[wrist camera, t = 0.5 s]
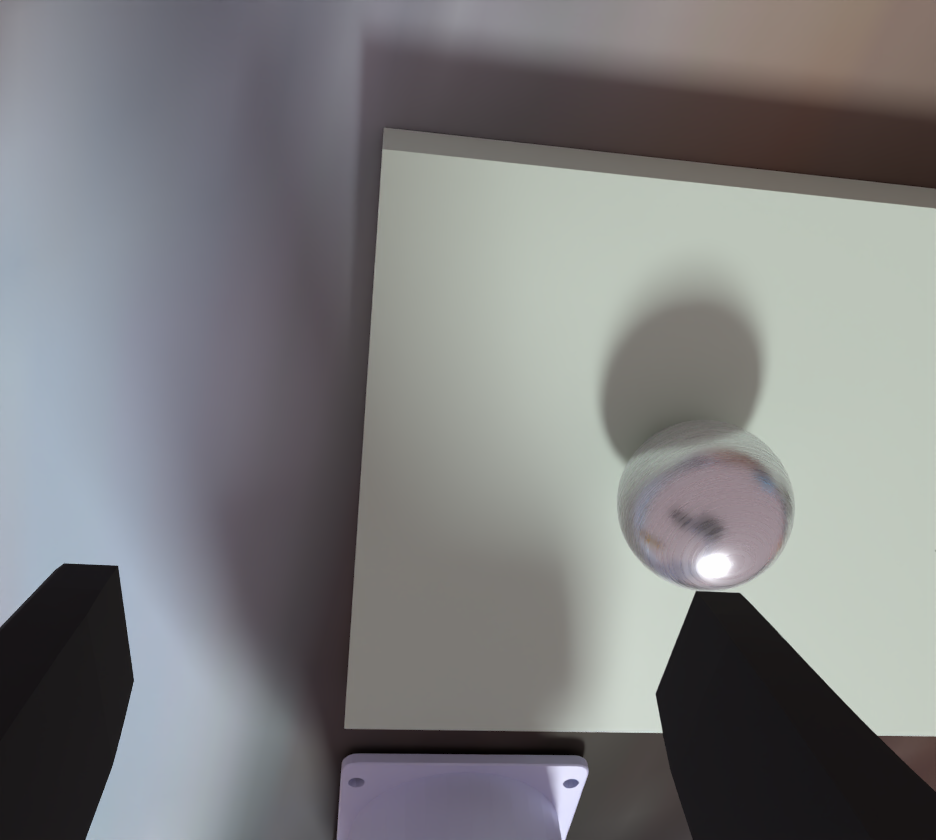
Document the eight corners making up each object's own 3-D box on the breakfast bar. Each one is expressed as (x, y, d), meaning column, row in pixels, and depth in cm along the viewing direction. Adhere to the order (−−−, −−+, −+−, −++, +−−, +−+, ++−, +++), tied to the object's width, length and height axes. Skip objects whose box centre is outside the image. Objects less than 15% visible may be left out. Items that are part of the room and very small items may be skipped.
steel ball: (728, 518, 19) (788, 631, 16) (586, 511, 19) (621, 626, 16) (777, 393, 17) (855, 496, 14) (621, 382, 17) (667, 485, 14)
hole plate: (1069, 698, 27) (1102, 738, 26) (346, 684, 24) (344, 728, 22) (1444, 245, 18) (1522, 271, 17) (383, 127, 15) (382, 149, 14)
